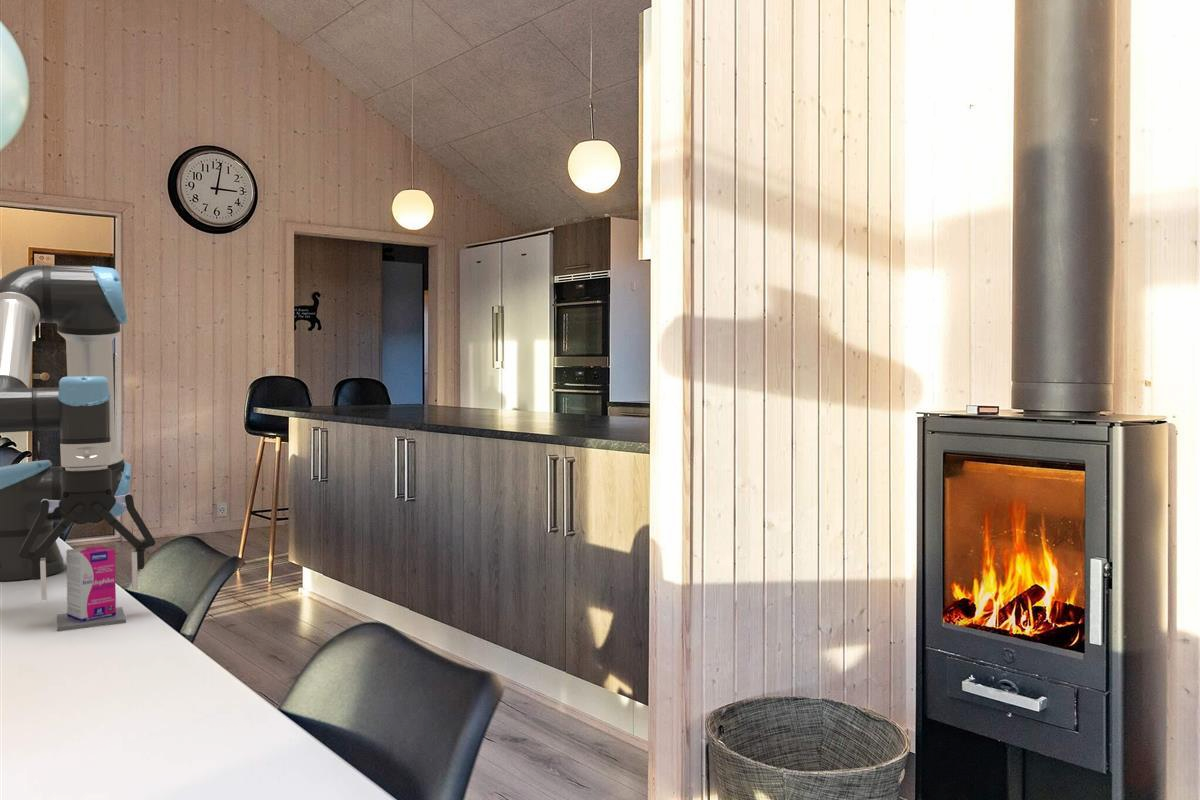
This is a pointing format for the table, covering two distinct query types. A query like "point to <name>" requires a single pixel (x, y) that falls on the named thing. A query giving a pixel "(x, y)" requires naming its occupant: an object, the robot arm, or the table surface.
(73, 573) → the supplement box
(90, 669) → the table surface
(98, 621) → the slate coaster
